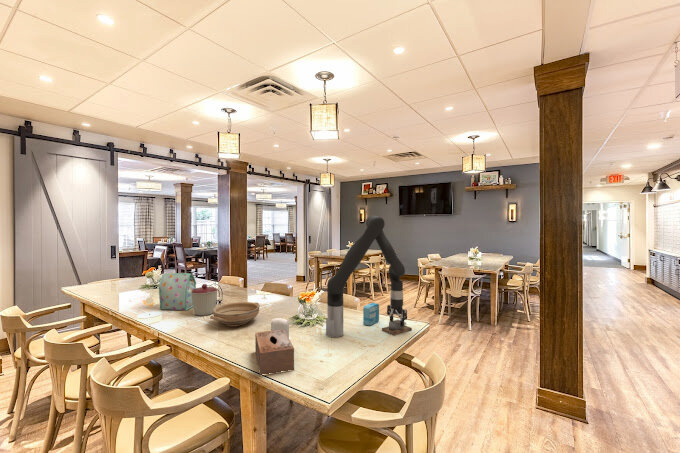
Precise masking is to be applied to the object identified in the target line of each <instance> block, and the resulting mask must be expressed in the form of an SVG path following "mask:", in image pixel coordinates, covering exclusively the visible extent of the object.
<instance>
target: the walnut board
mask: <svg viewBox="0 0 680 453" xmlns="http://www.w3.org/2000/svg"><path fill="white" fill-rule="evenodd" d="M412 330H413V328H412V327H411V326H407V325H404V328H402V329H398V330H395V331H392V330H389V325H388V326H385V327H382V328H381V331H382V332H383V333H386V334H389V335H391V336H394V337H395V336H397V335H402V334H405V333H409V332H411V331H412Z"/></svg>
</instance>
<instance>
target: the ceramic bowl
mask: <svg viewBox="0 0 680 453" xmlns="http://www.w3.org/2000/svg"><path fill="white" fill-rule="evenodd" d="M260 308H261V307H260V303H259V302H250V301H235V302H230V303H229V302H228V303H223V304H220V305H218V306H216V307H215V308H214V309H213V313H212V314H213V315H211V316H210V320H213V321H214V320H215V321H218V322H219V323H222V324H225V325H226V326H227V327H238V326H239V327H240V325H241V326H243V325H244V326H245V325H246V324H248V322H249V321H251V320H253V319H256V317H257V316H258V315H259V312H260Z"/></svg>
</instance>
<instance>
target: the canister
mask: <svg viewBox="0 0 680 453" xmlns="http://www.w3.org/2000/svg"><path fill="white" fill-rule="evenodd" d="M218 292H219V289H218V288H216V287H214V286H208V284H206V283H203V284H202V285H201V287H196V289H193V290H192V291H191V292H190V293H192V302H193V307H192V308H193V313H194V314H195V315H196V316H200V317H201V316H210V315H212V314H213V309H214V308H215V307H217V306H216V305H217V298H218Z"/></svg>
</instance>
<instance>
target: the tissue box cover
mask: <svg viewBox="0 0 680 453" xmlns="http://www.w3.org/2000/svg"><path fill="white" fill-rule="evenodd" d="M254 334H255V340H254V341H255V346H254V348H255V356H257V357H256V361H258V362H257V365H258V366H259V367H258V371H259V370H260V372H259V376H260V375H262V374H269V373H275V374H277V373H276V372H281V371H288V370H294V371H295V348H294V345H293V343H292V342H291V340H290V337H289V338H288V336H287V334H286V332H285V330H284V329H282V330H274V331H271V330H267V331H258V332H257V331H256V332H255V333H254ZM288 372H289V371H288ZM269 375H270V374H269Z"/></svg>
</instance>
